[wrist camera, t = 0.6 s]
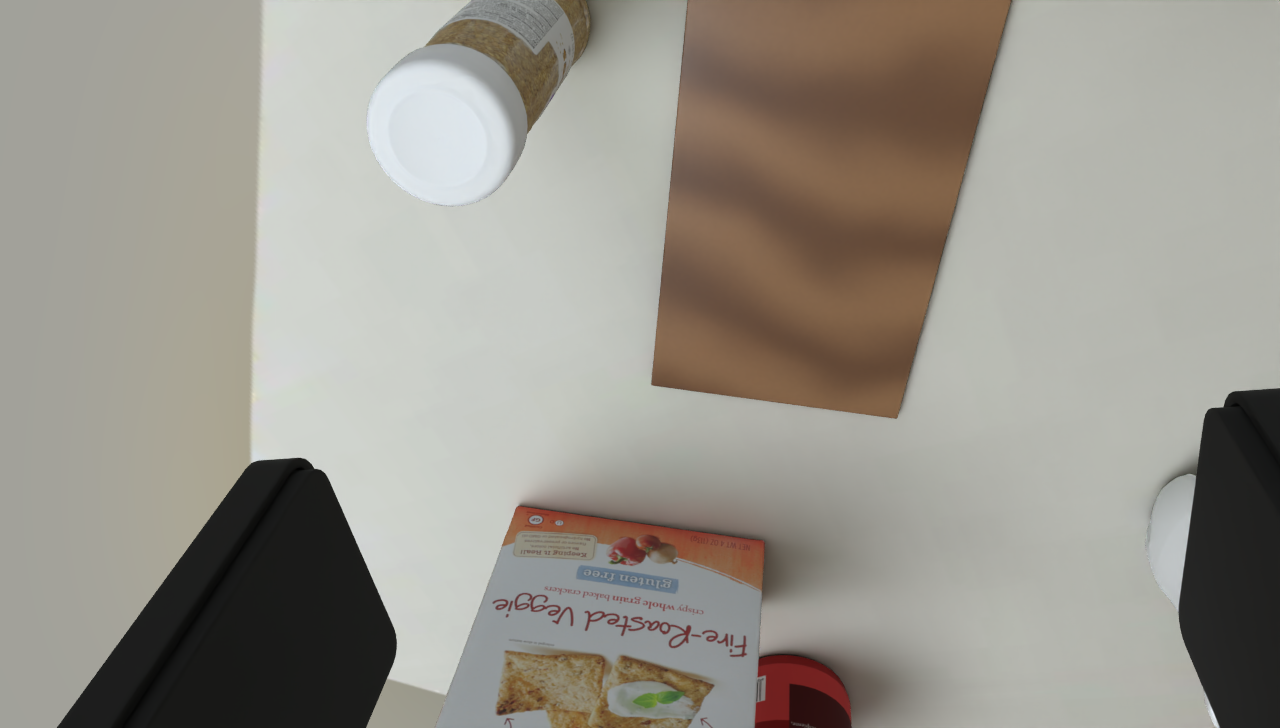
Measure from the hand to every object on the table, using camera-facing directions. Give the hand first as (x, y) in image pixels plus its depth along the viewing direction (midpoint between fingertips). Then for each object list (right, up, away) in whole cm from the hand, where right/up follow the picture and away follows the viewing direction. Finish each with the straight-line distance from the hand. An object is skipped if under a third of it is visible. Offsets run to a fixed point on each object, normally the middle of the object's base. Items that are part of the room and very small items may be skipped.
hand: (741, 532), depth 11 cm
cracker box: (-1, -9, +45) cm, 46 cm away
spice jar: (-5, +16, +29) cm, 34 cm away
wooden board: (+6, +8, +32) cm, 34 cm away
